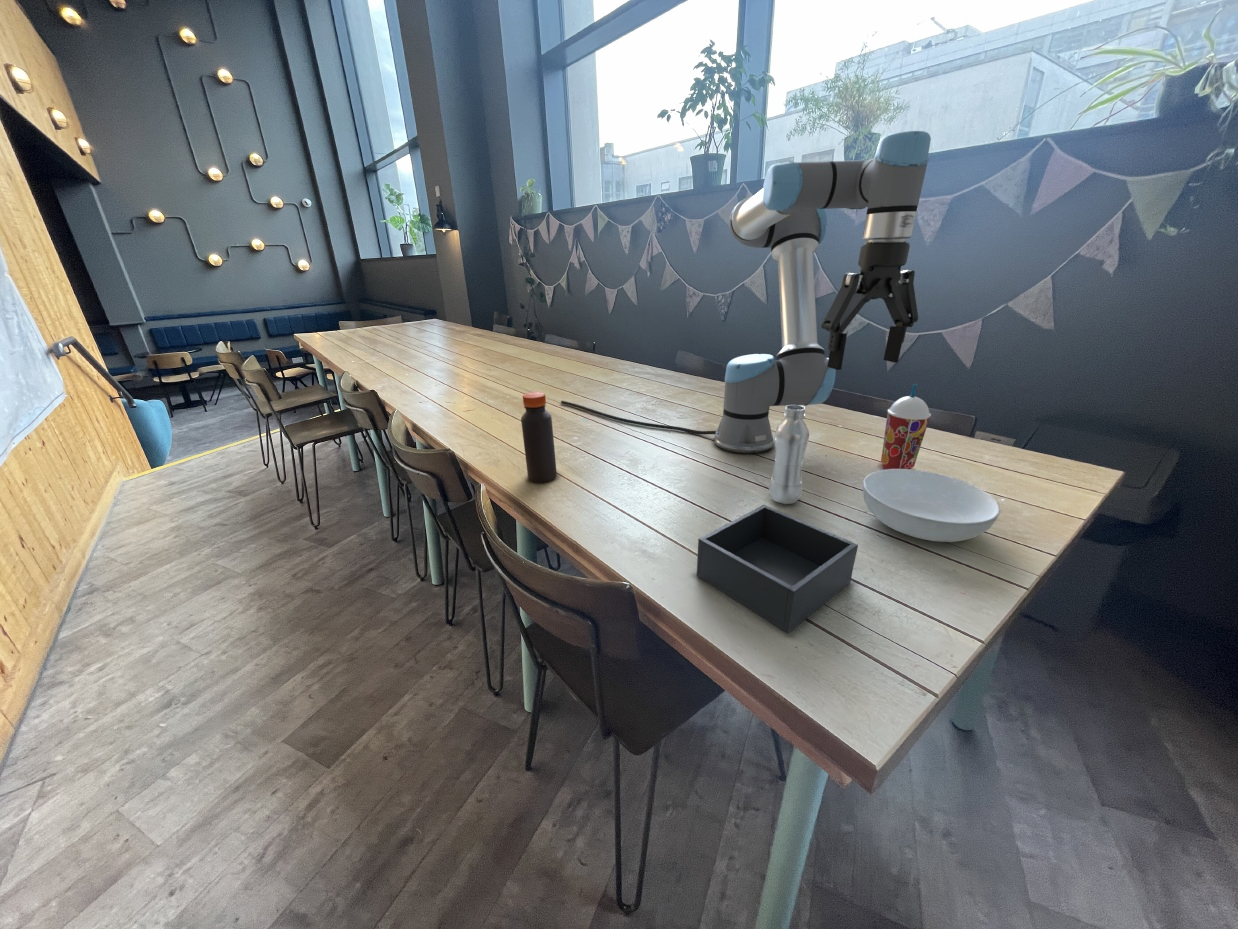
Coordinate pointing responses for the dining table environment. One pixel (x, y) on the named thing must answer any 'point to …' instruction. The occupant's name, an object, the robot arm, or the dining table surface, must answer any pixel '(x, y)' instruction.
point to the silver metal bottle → (789, 456)
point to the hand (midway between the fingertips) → (862, 364)
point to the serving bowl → (929, 504)
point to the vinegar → (538, 438)
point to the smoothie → (904, 432)
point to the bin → (776, 565)
